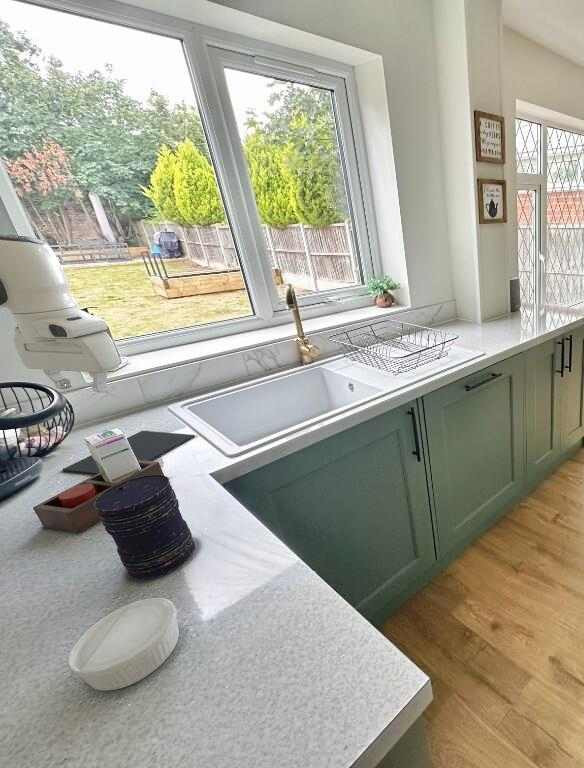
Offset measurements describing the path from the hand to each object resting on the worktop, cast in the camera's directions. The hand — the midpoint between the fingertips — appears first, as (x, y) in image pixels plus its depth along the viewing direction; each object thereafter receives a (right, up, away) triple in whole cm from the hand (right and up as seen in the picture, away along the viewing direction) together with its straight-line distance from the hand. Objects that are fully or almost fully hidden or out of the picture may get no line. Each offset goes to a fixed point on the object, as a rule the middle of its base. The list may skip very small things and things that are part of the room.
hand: (83, 389), depth 85 cm
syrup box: (0, -23, +10) cm, 26 cm away
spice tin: (-1, -26, +2) cm, 27 cm away
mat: (-13, -17, +25) cm, 33 cm away
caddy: (-1, -25, +6) cm, 26 cm away
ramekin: (+35, -38, -27) cm, 58 cm away
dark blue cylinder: (+25, -31, -10) cm, 41 cm away
